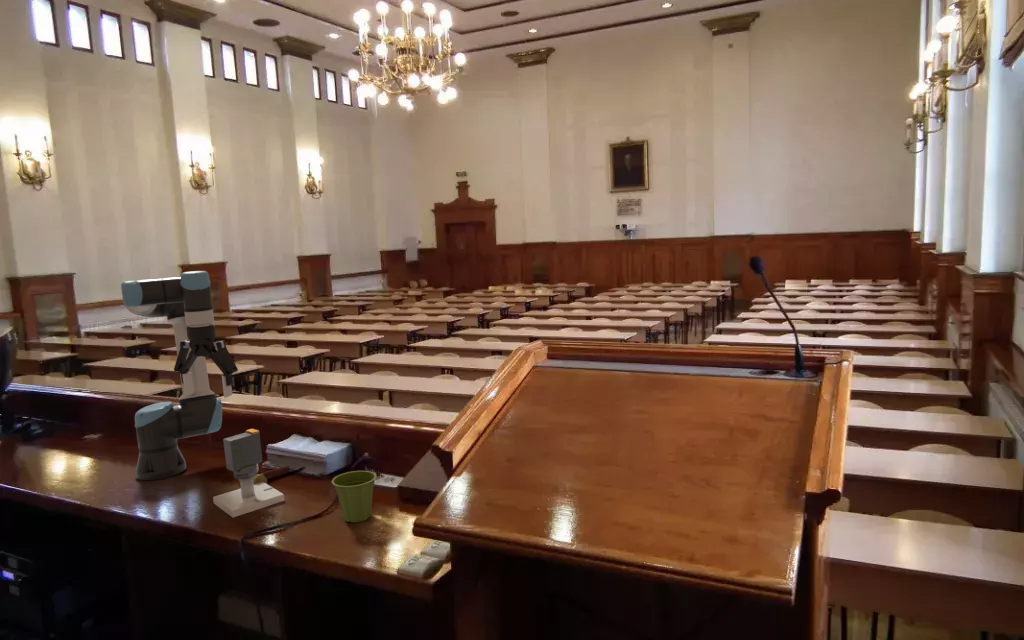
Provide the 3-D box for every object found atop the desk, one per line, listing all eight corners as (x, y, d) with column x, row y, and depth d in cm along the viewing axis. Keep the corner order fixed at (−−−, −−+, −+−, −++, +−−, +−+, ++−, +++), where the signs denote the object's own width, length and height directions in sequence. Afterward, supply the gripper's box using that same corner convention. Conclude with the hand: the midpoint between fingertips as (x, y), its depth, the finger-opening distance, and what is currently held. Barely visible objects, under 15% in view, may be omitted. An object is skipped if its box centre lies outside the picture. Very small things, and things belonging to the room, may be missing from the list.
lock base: (213, 503, 194) (210, 477, 193) (263, 487, 205) (260, 463, 203) (232, 517, 184) (229, 490, 182) (284, 500, 194) (281, 474, 193)
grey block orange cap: (237, 482, 187) (232, 439, 186) (225, 477, 192) (220, 436, 190) (265, 472, 194) (261, 431, 193) (254, 468, 198) (249, 428, 197)
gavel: (296, 455, 224) (312, 461, 218) (296, 468, 225) (313, 474, 218) (237, 470, 209) (253, 477, 202) (237, 484, 209) (253, 491, 203)
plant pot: (388, 515, 180) (385, 475, 178) (352, 531, 171) (348, 490, 170) (362, 504, 188) (359, 467, 186) (326, 519, 179) (323, 480, 178)
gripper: (245, 322, 191) (253, 393, 194) (174, 321, 197) (182, 390, 201) (228, 327, 184) (236, 400, 187) (155, 326, 190) (164, 397, 194)
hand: (208, 395), depth 194 cm, fingers open, 13 cm apart
